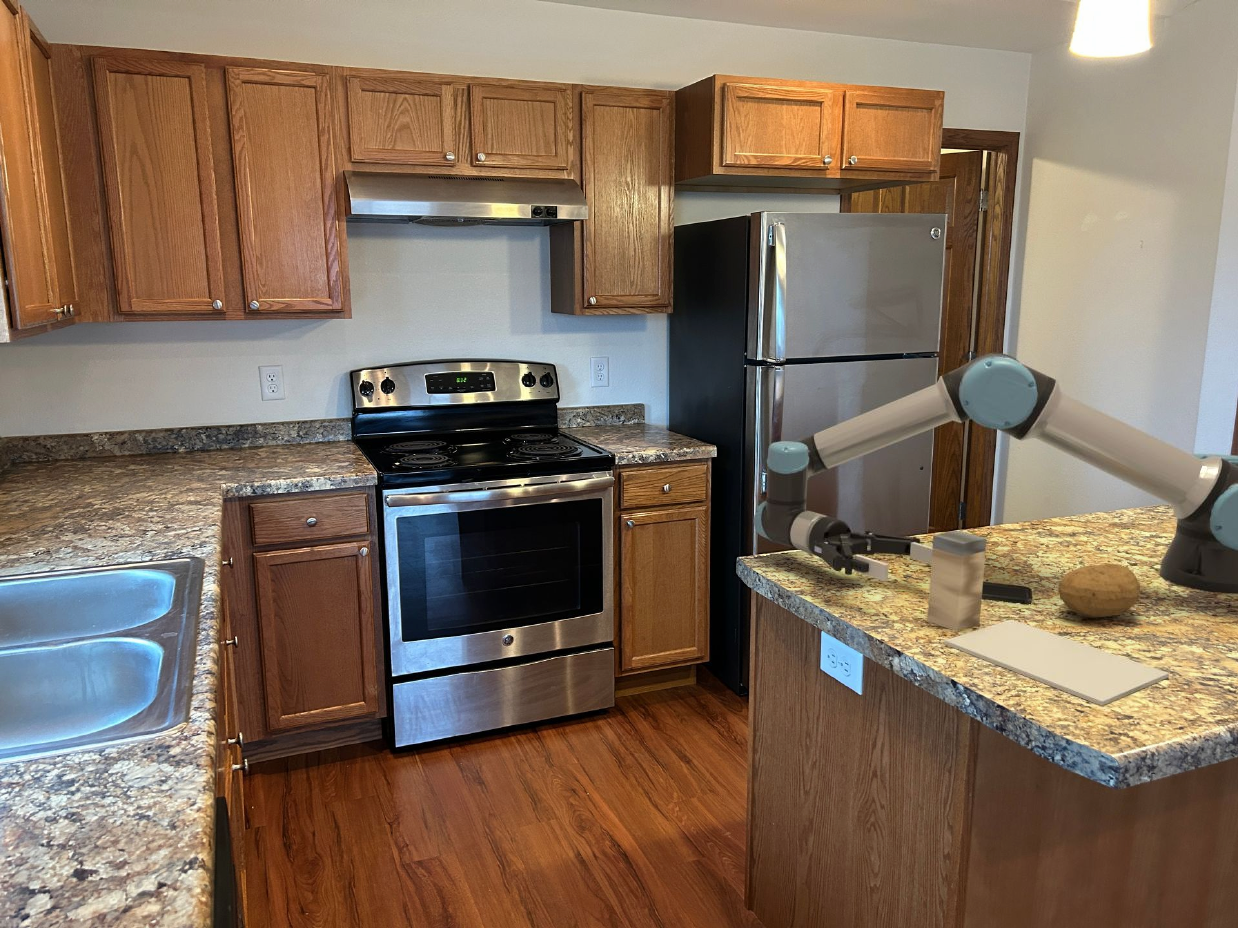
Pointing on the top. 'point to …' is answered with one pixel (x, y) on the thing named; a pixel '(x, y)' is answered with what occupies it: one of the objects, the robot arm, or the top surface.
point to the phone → (1006, 593)
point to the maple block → (956, 580)
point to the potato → (1099, 590)
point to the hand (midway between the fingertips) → (915, 566)
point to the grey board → (1058, 661)
